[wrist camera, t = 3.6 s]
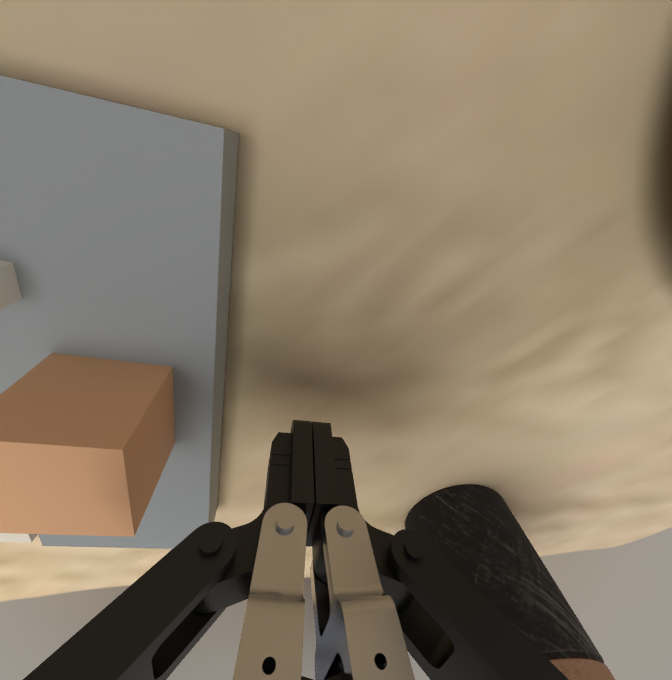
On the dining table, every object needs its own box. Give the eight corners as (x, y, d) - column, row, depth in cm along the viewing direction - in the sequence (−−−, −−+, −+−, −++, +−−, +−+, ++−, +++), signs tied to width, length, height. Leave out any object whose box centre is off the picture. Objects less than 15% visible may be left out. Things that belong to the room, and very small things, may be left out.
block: (51, 353, 12) (-54, 437, 8) (172, 366, 12) (122, 449, 9) (70, 435, 14) (-8, 532, 10) (174, 443, 14) (133, 536, 11)
